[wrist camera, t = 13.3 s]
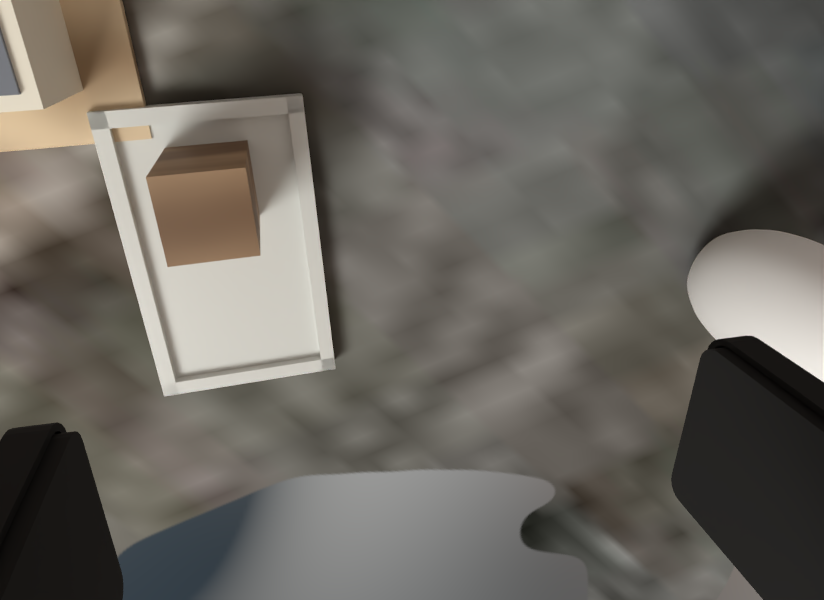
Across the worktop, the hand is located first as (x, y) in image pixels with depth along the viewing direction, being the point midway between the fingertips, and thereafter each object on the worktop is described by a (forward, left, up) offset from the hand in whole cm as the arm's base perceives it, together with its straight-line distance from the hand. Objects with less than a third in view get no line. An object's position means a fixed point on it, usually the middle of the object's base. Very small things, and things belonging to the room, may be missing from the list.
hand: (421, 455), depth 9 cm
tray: (+6, -5, -26) cm, 27 cm away
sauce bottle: (+11, +26, -26) cm, 39 cm away
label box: (-5, -12, -25) cm, 28 cm away
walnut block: (+2, -5, -25) cm, 26 cm away
